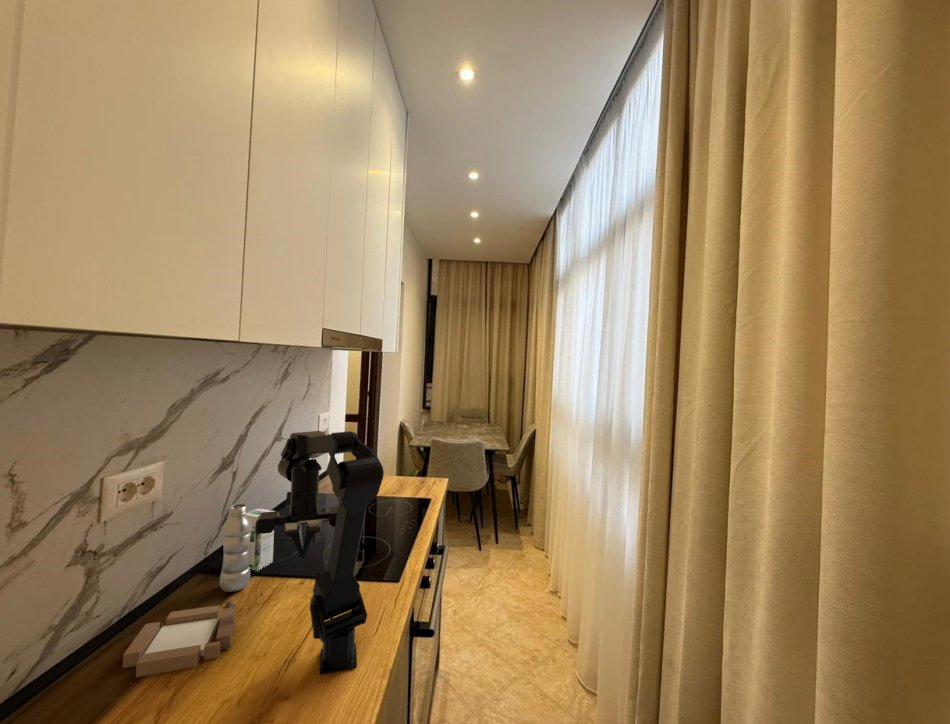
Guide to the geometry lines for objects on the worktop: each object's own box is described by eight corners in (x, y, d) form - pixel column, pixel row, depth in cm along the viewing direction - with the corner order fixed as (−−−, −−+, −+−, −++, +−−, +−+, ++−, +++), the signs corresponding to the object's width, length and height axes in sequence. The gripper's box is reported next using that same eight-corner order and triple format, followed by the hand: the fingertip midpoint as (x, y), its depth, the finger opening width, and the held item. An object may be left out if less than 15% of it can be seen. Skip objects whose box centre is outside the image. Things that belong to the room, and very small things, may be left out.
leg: (222, 617, 88) (223, 601, 88) (235, 614, 89) (235, 599, 89) (215, 653, 77) (216, 635, 77) (230, 649, 78) (230, 631, 78)
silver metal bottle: (240, 578, 104) (243, 500, 104) (255, 586, 100) (258, 505, 100) (213, 590, 98) (216, 507, 98) (228, 599, 95) (231, 513, 95)
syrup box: (239, 568, 108) (241, 514, 109) (257, 558, 114) (259, 507, 114) (256, 572, 107) (258, 517, 107) (273, 562, 112) (275, 509, 113)
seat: (216, 663, 75) (216, 650, 75) (113, 681, 70) (113, 667, 70) (236, 613, 89) (236, 602, 89) (152, 626, 84) (152, 614, 84)
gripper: (347, 475, 102) (345, 538, 102) (265, 480, 96) (262, 546, 96) (348, 488, 91) (346, 558, 91) (255, 495, 85) (253, 569, 85)
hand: (302, 557), depth 91 cm, fingers closed
